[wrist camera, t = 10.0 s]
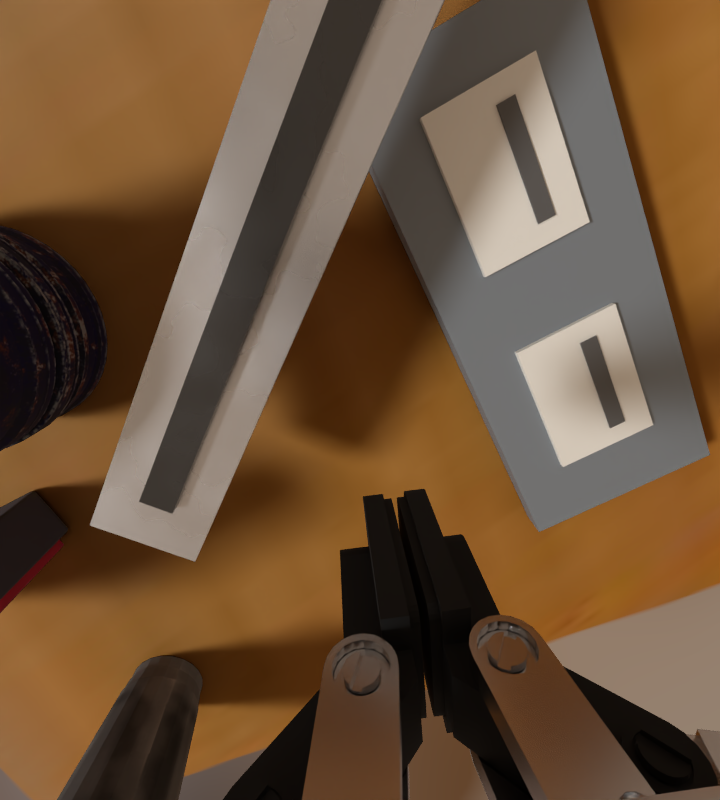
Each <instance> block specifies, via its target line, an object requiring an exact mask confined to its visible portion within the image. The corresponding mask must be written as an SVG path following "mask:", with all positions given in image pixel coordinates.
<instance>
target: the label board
mask: <svg viewBox="0 0 720 800" xmlns="http://www.w3.org/2000/svg"><path fill="white" fill-rule="evenodd" d="M369 172H370V174H371V177H372V179H373V181H374V183H375V185H376V187H377V190H378V192H379V194H380V196H381V198H382V200H383V203H384V205H385V207H386V209H387V211H388V214H389V216H390V218H391V220H392V222H393V224H394V227H395V229H396V231H397V233H398V235H399V237H400V240H401V242H402V244H403V246H404V248H405V250H406V253H407V255H408V257H409V259H410V261H411V263H412V266H413V268H414V270H415V272H416V274H417V276H418V279H419V281H420V283H421V285H422V287H423V290H424V292H425V294H426V296H427V298H428V300H429V303H430V305H431V307H432V309H433V311H434V313H435V316H436V318H437V320H438V322H439V324H440V326H441V329H442V331H443V333H444V335H445V337H446V339H447V342H448V344H449V346H450V348H451V350H452V353H453V355H454V357H455V359H456V361H457V363H458V366H459V368H460V370H461V372H462V374H463V376H464V379H465V381H466V383H467V385H468V387H469V389H470V392H471V394H472V396H473V398H474V400H475V402H476V405H477V407H478V409H479V411H480V413H481V415H482V418H483V420H484V422H485V424H486V426H487V429H488V431H489V433H490V435H491V437H492V439H493V442H494V444H495V446H496V448H497V450H498V452H499V455H500V457H501V459H502V461H503V463H504V465H505V468H506V470H507V472H508V474H509V476H510V478H511V481H512V483H513V485H514V487H515V489H516V492H517V494H518V496H519V498H520V500H521V502H522V505H523V507H524V509H525V511H526V513H527V515H528V517H529V519H530V520H531V521H532V523H533V524H534V525H535V527H536V528H537V530H538V531H539V532H540V531H542V530H544V529H547V528H549V527H551V526H553V525H555V524H558V523H560V522H562V521H564V520H566V519H569V518H571V517H573V516H575V515H578V514H580V513H582V512H584V511H586V510H589V509H591V508H593V507H595V506H597V505H600V504H602V503H604V502H606V501H609V500H611V499H613V498H615V497H617V496H620V495H622V494H624V493H626V492H628V491H631V490H633V489H635V488H637V487H639V486H642V485H644V484H646V483H648V482H651V481H653V480H655V479H657V478H659V477H662V476H664V475H666V474H668V473H670V472H673V471H675V470H677V469H679V468H682V467H684V466H686V465H688V464H690V463H693V462H695V461H697V460H699V459H701V458H704V457H706V456H708V455H710V453H709V450H708V446H707V442H706V439H705V435H704V431H703V427H702V424H701V420H700V416H699V413H698V409H697V405H696V402H695V398H694V394H693V390H692V387H691V383H690V379H689V376H688V372H687V368H686V365H685V361H684V357H683V354H682V350H681V346H680V342H679V339H678V335H677V331H676V328H675V324H674V320H673V317H672V313H671V309H670V305H669V302H668V298H667V294H666V291H665V287H664V283H663V280H662V276H661V272H660V268H659V265H658V261H657V257H656V254H655V250H654V246H653V243H652V239H651V235H650V232H649V228H648V224H647V220H646V217H645V213H644V209H643V206H642V202H641V198H640V195H639V191H638V187H637V183H636V180H635V176H634V172H633V169H632V165H631V161H630V158H629V154H628V150H627V147H626V143H625V139H624V135H623V132H622V128H621V124H620V121H619V117H618V113H617V110H616V106H615V102H614V98H613V95H612V91H611V87H610V84H609V80H608V76H607V73H606V69H605V65H604V61H603V58H602V54H601V50H600V47H599V43H598V39H597V36H596V32H595V28H594V25H593V21H592V17H591V13H590V10H589V6H588V2H587V0H481V1H479V2H477V3H476V4H474V5H473V6H471V7H469V8H468V9H466V10H464V11H463V12H461V13H459V14H458V15H456V16H454V17H453V18H451V19H450V20H448V21H446V22H445V23H443V24H441V25H440V26H438V27H436V28H435V29H433V30H431V32H430V35H429V37H428V39H427V41H426V44H425V46H424V48H423V50H422V53H421V55H420V57H419V59H418V62H417V64H416V66H415V68H414V71H413V73H412V75H411V77H410V80H409V82H408V84H407V86H406V89H405V91H404V93H403V95H402V98H401V100H400V102H399V104H398V107H397V109H396V111H395V113H394V116H393V118H392V120H391V122H390V125H389V127H388V129H387V131H386V134H385V136H384V138H383V141H382V143H381V145H380V147H379V150H378V152H377V154H376V156H375V159H374V161H373V163H372V165H371V168H370V170H369Z"/></svg>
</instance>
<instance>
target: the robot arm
mask: <svg viewBox="0 0 720 800" xmlns="http://www.w3.org/2000/svg"><path fill="white" fill-rule="evenodd" d="M363 502H364V511H365V520H366V529H367V537H368V547H360V548H353V549H345V550H340V561H341V584H342V608H343V632H344V639H342V640H341V641H340V642H339V643H337V644H336V645H335V646H334V647H333V648H332V650H331V651H330V652H329V654H328V655H327V658H326V661H325V664H324V668H323V674H322V680H321V686H320V690H319V691H318V692H317V693H316V694H315V695H314V696H313V697H312V699H311V700H310V701H309V702H308V703H307V704H306V705H305V706H304V707H303V709H302V710H301V711H300V712H299V713H298V714H297V715H296V716H295V717H294V719H293V720H292V721H291V722H290V723H289V724H288V725H287V726H286V727H285V729H284V730H283V731H282V732H281V733H280V734H279V735H278V736H277V737H276V739H275V740H274V741H273V742H272V743H271V744H270V745H269V746H268V747H267V749H266V750H265V751H264V752H263V753H262V754H261V755H260V756H259V758H258V759H257V760H256V761H255V762H254V763H253V764H252V766H250V768H249V769H248V770H247V771H246V772H245V773H244V774H243V775H242V776H241V778H240V779H239V780H238V781H237V782H236V783H235V784H234V785H233V786H232V788H231V789H230V791H229V792H228V794H227V795H226V796H225V798H224V799H223V800H410V799H409V798H410V797H409V769H408V764H409V763H410V761H411V759H412V758H413V756H414V755H415V753H416V752H417V750H418V748H419V747H420V745H421V744H422V742H423V740H422V725H421V718H426V700H425V685H424V676H425V680H426V685H427V689H428V694H429V698H430V702H431V707H432V711H433V715H434V716H441V715H443V719H444V723H445V727H446V731H447V733H450V732H453V736H454V738H456V739H457V740H459V741H460V742H461V743H462V744H464V745H465V746H466V747H468V748H469V749H470V752H471V756H472V759H473V763H474V766H475V768H476V770H477V773H478V775H479V777H480V780H481V782H482V785H483V787H484V790H485V792H486V794H487V797H488V799H489V800H720V731H710V730H700V729H697V732H696V735H687V734H685V733H684V732H682V731H681V730H679V729H678V728H676V727H675V726H673V725H672V724H670V723H669V722H667V721H665V720H663V719H661V718H659V717H657V716H655V715H654V714H652V713H650V712H648V711H646V710H644V709H642V708H640V707H639V706H637V705H635V704H633V703H631V702H629V701H627V700H625V699H624V698H622V697H620V696H618V695H616V694H614V693H612V692H611V691H609V690H607V689H605V688H603V687H601V686H599V685H597V684H595V683H594V682H592V681H590V680H588V679H586V678H584V677H582V676H580V675H579V674H577V673H575V672H573V671H571V670H569V669H567V668H565V667H564V666H562V664H561V663H560V662H559V660H558V659H557V657H556V656H555V655H554V653H553V652H552V651H551V649H550V648H549V647H548V645H547V644H546V642H545V641H544V640H543V638H542V637H541V636H540V634H539V633H538V632H537V631H536V630H535V629H534V628H533V627H532V626H530V625H529V624H527V623H525V622H524V621H522V620H520V619H517V618H514V617H512V616H505V615H500V614H499V611H498V609H497V607H496V605H495V603H494V601H493V598H492V596H491V594H490V592H489V590H488V588H487V585H486V583H485V581H484V579H483V577H482V575H481V572H480V570H479V568H478V566H477V564H476V562H475V559H474V557H473V555H472V553H471V551H470V549H469V546H468V544H467V542H466V540H465V538H464V536H463V535H461V534H460V535H452V536H445V537H443V535H442V532H441V530H440V527H439V525H438V522H437V519H436V517H435V514H434V512H433V509H432V507H431V504H430V502H429V499H428V496H427V494H426V491H425V489H418V490H410V491H404V497H398V498H397V506H398V518H399V528H398V524H397V519H396V515H395V511H394V507H393V503H392V500H391V498H390V499H384V497H383V494H379V495H371V496H363ZM399 531H400V532H399Z"/></svg>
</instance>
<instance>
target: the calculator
mask: <svg viewBox="0 0 720 800" xmlns="http://www.w3.org/2000/svg"><path fill="white" fill-rule="evenodd" d="M67 531H68V528H67V527H66V525H65V524H64V523H63V522H62V521H61V520H60V518H59V517H58V516H57V515H56V514H55V513H54V512H53V511H52V509H51V508H50V507H49V506H48V505H47V504H46V503H45V502H44V501H43V499H42V498H41V497H40V496H39V495H38V494H37V493H36V492H35V491H32V492H29V493H27V494H25V495H24V496H22V497H20V498H18V499H16V500H14V501H12V502H10V503H8V504H6V505H4V506H2V507H0V613H1V612H2V611H3V610H4V608H5V607H6V606H7V605H8V604H9V603H10V602H11V601H12V600H13V599H14V598H15V597H16V596H17V595H18V594H19V593H20V592H21V590H22V589H23V588H24V587H25V586H26V585H27V584H28V583H29V582H30V581H31V580H32V579H33V578H34V577H35V576H36V575H37V574H38V572H39V571H40V570H41V569H42V568H43V567H44V566H45V565H46V564H47V563H48V562H49V561H50V560H51V559H52V558H53V557H54V556H55V554H56V553H57V552H58V551H59V550H60V549H61V548H62V547H63V546H64V544H63V543H62V542H61V540H60V538H61V537H62V536H63V535H64V534H65V533H66V532H67Z"/></svg>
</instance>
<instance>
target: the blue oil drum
mask: <svg viewBox="0 0 720 800" xmlns="http://www.w3.org/2000/svg"><path fill="white" fill-rule="evenodd" d="M106 359H107V334H106V328H105V324H104V320H103V316H102V313H101V311H100V308H99V306H98V303H97V301H96V299H95V297H94V295H93V294H92V292H91V290H90V289H89V287H88V285H87V284H86V282H85V281H84V280H83V279H82V277H81V276H80V275H79V274H78V272H77V271H76V270H75V269H74V268H73V267H72V266H71V265H70V264H69V263H68V262H67V261H66V260H65V259H64V258H63V257H62V256H61V255H59V254H58V253H57V252H55V251H54V250H53V249H51V248H50V247H49V246H47V245H46V244H44V243H42V242H40V241H39V240H37V239H35V238H33V237H32V236H30V235H27V234H25V233H22V232H20V231H17V230H15V229H12V228H8V227H4V226H0V451H1V450H3V449H5V448H7V447H10V446H12V445H15V444H17V443H19V442H22V441H23V440H25V439H27V438H29V437H30V436H32V435H34V434H35V433H37V432H39V431H40V430H42V429H43V428H45V427H46V426H48V425H50V424H51V423H52V422H53V421H54V420H55V419H56V418H57V417H59V416H61V415H63V414H65V413H67V412H69V411H70V410H72V409H73V408H75V407H76V406H78V405H80V404H81V403H82V402H83V401H84V400H85V399H86V398H87V397H88V396H89V395H90V394H91V393H92V391H93V390H94V389H95V387H96V386H97V384H98V382H99V380H100V378H101V376H102V374H103V371H104V367H105V363H106Z"/></svg>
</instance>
